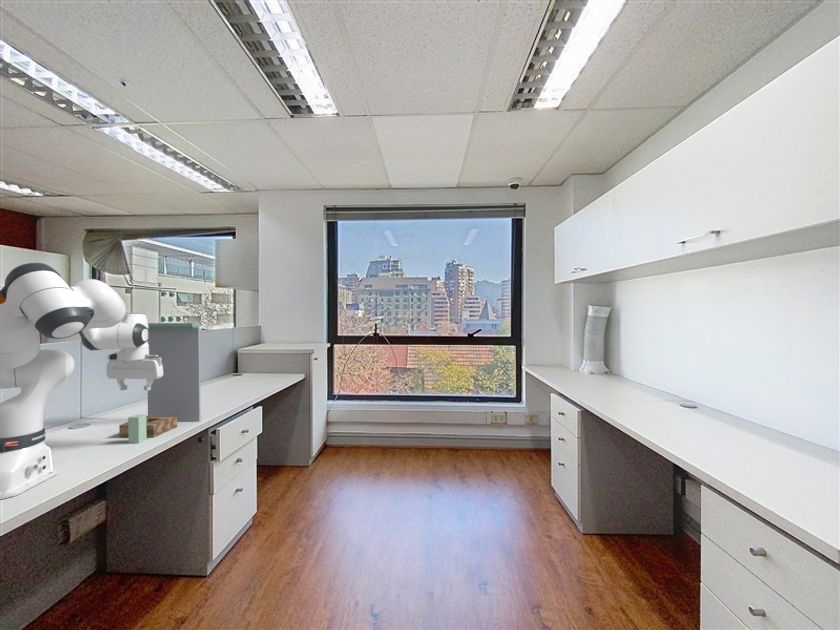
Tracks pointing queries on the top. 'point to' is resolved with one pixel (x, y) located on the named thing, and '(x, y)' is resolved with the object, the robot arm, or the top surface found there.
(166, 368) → the tall box with lid
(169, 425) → the socket block
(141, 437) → the peg
